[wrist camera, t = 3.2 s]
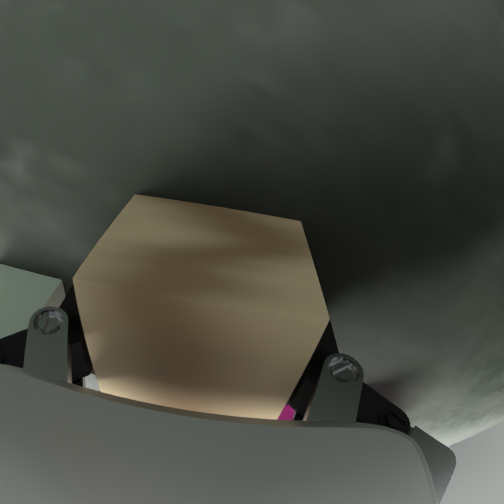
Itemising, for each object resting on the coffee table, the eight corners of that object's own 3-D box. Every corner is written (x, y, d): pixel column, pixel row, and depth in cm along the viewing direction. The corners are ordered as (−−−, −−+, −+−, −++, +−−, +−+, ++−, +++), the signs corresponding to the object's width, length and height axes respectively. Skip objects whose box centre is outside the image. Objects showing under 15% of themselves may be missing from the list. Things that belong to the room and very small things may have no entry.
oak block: (300, 221, 11) (329, 319, 7) (264, 336, 14) (269, 432, 10) (135, 194, 11) (72, 277, 6) (136, 316, 14) (106, 407, 9)
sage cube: (62, 278, 13) (18, 348, 9) (77, 342, 15) (49, 407, 11) (-4, 261, 12) (-51, 318, 8) (16, 323, 15) (-17, 378, 11)
